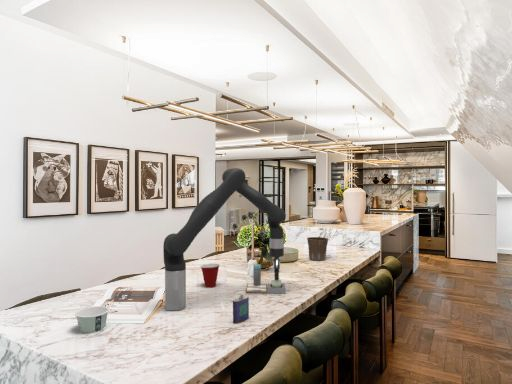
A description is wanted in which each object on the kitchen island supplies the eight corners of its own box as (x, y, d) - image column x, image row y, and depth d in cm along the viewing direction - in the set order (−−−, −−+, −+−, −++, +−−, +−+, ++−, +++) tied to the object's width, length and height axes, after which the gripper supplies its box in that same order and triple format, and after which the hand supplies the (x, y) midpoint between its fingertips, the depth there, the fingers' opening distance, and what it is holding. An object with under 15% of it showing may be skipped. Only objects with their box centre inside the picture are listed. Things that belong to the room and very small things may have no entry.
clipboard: (267, 293, 186) (267, 290, 186) (245, 293, 186) (245, 290, 186) (267, 285, 202) (267, 282, 202) (247, 285, 202) (247, 282, 202)
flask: (245, 316, 153) (245, 291, 152) (251, 317, 151) (251, 292, 151) (231, 322, 145) (231, 296, 145) (237, 324, 143) (237, 297, 143)
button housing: (285, 294, 185) (285, 288, 185) (267, 293, 185) (267, 288, 185) (284, 289, 194) (284, 283, 194) (267, 288, 194) (267, 283, 194)
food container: (70, 327, 140) (70, 311, 140) (101, 320, 148) (101, 304, 148) (81, 337, 131) (81, 319, 131) (114, 328, 140) (114, 311, 140)
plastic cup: (207, 282, 207) (207, 261, 207) (223, 285, 202) (223, 263, 202) (196, 287, 197) (196, 265, 197) (212, 289, 192) (212, 267, 192)
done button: (281, 289, 187) (281, 282, 187) (271, 289, 187) (271, 282, 187) (281, 287, 192) (281, 279, 192) (271, 287, 192) (271, 279, 192)
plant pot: (331, 258, 278) (331, 237, 278) (323, 262, 264) (323, 240, 264) (312, 256, 287) (312, 236, 286) (303, 260, 273) (303, 238, 273)
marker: (260, 285, 197) (260, 265, 197) (253, 285, 197) (253, 265, 197) (260, 284, 201) (260, 264, 201) (253, 283, 201) (253, 264, 201)
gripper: (284, 249, 183) (284, 283, 183) (283, 244, 196) (283, 276, 196) (269, 248, 183) (269, 283, 183) (269, 244, 196) (269, 276, 196)
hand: (276, 279), depth 189 cm, fingers closed
